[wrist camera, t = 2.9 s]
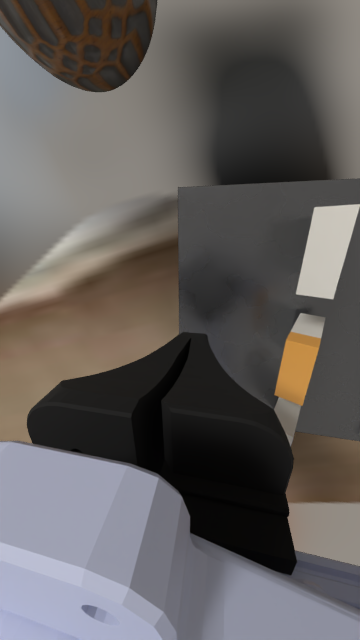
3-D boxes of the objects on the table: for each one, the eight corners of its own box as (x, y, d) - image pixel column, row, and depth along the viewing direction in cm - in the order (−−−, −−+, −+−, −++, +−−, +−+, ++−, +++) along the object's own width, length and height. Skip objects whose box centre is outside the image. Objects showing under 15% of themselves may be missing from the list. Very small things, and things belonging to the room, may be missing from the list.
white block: (335, 280, 10) (333, 299, 7) (308, 277, 11) (295, 294, 8) (355, 213, 9) (360, 203, 6) (322, 215, 10) (314, 207, 7)
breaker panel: (387, 424, 16) (412, 452, 14) (184, 396, 19) (179, 416, 17) (513, 179, 10) (590, 165, 8) (184, 194, 13) (176, 186, 11)
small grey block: (294, 425, 14) (282, 476, 11) (276, 417, 15) (259, 463, 12) (304, 390, 13) (293, 437, 10) (284, 383, 14) (267, 425, 11)
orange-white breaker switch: (312, 364, 12) (302, 406, 9) (290, 357, 13) (274, 394, 10) (325, 317, 11) (319, 348, 8) (300, 313, 12) (285, 339, 9)
